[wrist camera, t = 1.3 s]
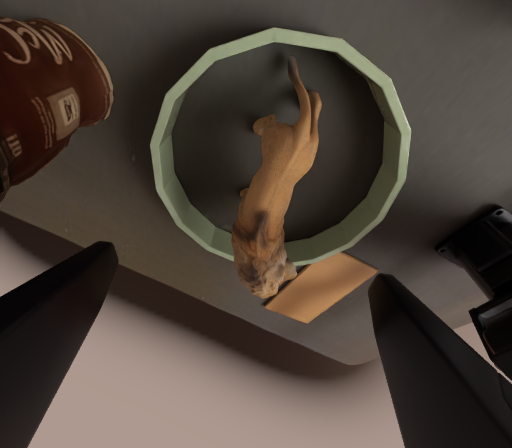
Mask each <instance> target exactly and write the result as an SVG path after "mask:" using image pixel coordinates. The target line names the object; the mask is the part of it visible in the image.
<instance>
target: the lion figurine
mask: <svg viewBox="0 0 512 448" xmlns="http://www.w3.org/2000/svg"><path fill="white" fill-rule="evenodd" d="M288 74H289V77H290V79H291V81H292V83H293V85H294V87H295V89H296V92H297V94H298V99H299V103H300V116H299V120H298V122H297V123H295V124H294V125H293V126H289V125H287V124H284V123H276V116H275V115H274V114H271V115H269V116H267V117H262V118H260V119H258V120H257V121H256V122H255V123H254V125H253V129H254V132H255V133H256V134H257V135H260V136H261V146H262V147H261V152H262V156H263V164H262V166H261V167H260V168H259V170H258V171H257V173H256V174H255V175H254V177H253V179H252V182H251V185H250V188H246V189H243V190H242V191H241V192H240V196H241V197H242V200H241V203H240V206H239V209H238V211H239V213H238V217H237V220H236V221H235V223H234V225H233V227H232V233H231V235H232V239H231V242H232V247H233V251H234V263H235V266H236V268H237V271H238V276H239V278H240V282H241V283H242V284H243V285H244V286H245V287H246V288H247V289H249V290H250V291H251V293H252V294H253V295H257V296H258V297H261V298H262V299H263V298H268V297H269V296H273V295H276V294H277V292H278V286H280V285H281V284H282V283H283V282H284V281H287V280H291V279H294V278H295V277H296V276H297V272H296V268H295V265H294V264H293V263H292V262H291V261H289V259H288V257H286V256H287V253H286V251H285V248H284V229H283V224H284V215H285V213H286V211H287V209H288V206H289V203H290V200H291V196H292V192H293V187H294V185H295V184H296V183H297V182H298V181H299V180H300V179H301V178H302V177H303V176H304V175H305V174H306V173H307V172H308V171H309V169H310V168H311V166H312V164H313V161H314V158H315V155H316V151H317V148H318V143H319V138H318V128H317V122H318V116H319V112H320V109H321V100H320V98H319V94H318V93H317V92H315V91H309V92H307V91H306V89H305V88H304V86H303V84H302V82H301V80H300V78H299V75H298V66H297V63H296V59H295V57H294V56H289V57H288Z"/></svg>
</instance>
